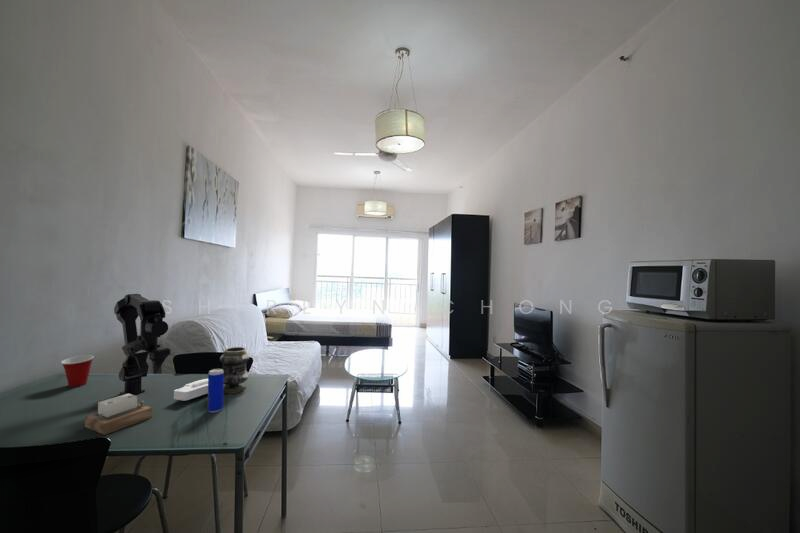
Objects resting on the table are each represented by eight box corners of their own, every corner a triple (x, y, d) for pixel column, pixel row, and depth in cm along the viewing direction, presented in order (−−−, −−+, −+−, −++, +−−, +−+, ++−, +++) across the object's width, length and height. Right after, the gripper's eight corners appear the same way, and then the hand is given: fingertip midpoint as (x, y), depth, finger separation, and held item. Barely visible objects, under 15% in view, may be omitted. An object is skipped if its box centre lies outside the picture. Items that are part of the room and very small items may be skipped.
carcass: (84, 426, 114) (85, 410, 114) (132, 411, 127) (132, 396, 127) (104, 434, 109) (104, 418, 109) (151, 417, 122) (152, 402, 122)
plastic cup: (53, 387, 148) (54, 360, 148) (82, 379, 159) (83, 354, 159) (71, 390, 145) (71, 362, 145) (99, 382, 156) (100, 356, 156)
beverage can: (211, 407, 131) (212, 368, 131) (225, 407, 132) (226, 368, 132) (204, 413, 126) (205, 372, 126) (219, 412, 127) (220, 372, 127)
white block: (97, 413, 116) (98, 401, 116) (128, 404, 124) (128, 392, 124) (106, 417, 113) (107, 404, 113) (137, 407, 122) (137, 395, 122)
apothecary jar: (245, 393, 146) (246, 351, 146) (215, 395, 143) (216, 352, 143) (251, 384, 158) (251, 345, 158) (222, 385, 155) (223, 346, 155)
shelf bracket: (211, 383, 160) (233, 386, 156) (160, 399, 136) (184, 403, 133) (212, 371, 160) (234, 374, 157) (161, 385, 137) (185, 389, 133)
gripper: (112, 333, 132) (111, 373, 132) (140, 338, 124) (139, 381, 124) (143, 329, 142) (142, 366, 142) (172, 333, 134) (171, 373, 134)
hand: (148, 371), depth 135 cm, fingers open, 9 cm apart
